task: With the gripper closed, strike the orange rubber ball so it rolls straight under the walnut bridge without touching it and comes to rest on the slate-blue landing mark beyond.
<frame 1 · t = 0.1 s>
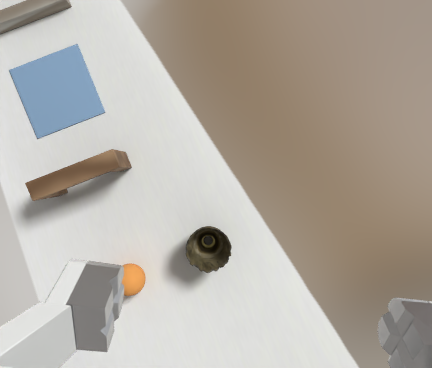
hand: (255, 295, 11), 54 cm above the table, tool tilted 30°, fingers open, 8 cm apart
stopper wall: (27, 17, 63), on the table
landing mark: (57, 91, 63), on the table
bridge: (91, 174, 64), on the table
cup: (208, 240, 65), on the table
ball: (129, 279, 62), on the table
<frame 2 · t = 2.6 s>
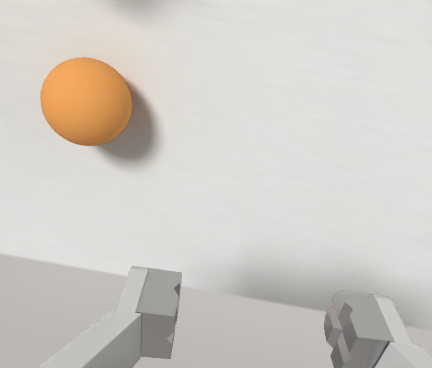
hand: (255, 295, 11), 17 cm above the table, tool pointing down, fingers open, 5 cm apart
ball: (88, 102, 23), on the table
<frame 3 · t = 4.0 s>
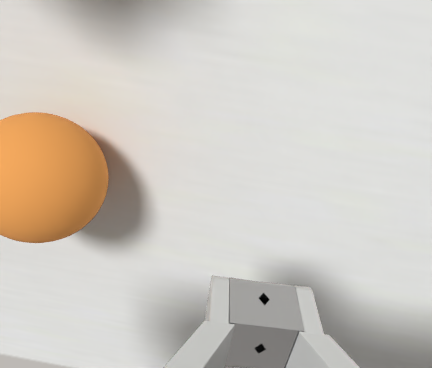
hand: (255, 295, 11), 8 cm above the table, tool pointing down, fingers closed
ball: (41, 177, 15), on the table
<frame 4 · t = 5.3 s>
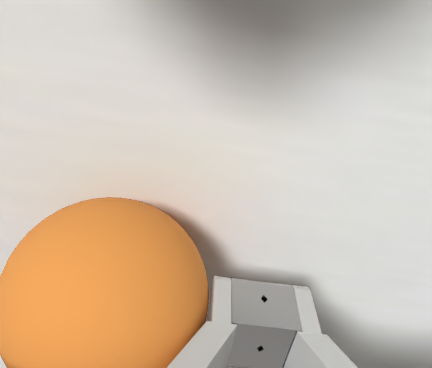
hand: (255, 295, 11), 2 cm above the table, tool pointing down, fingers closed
ball: (109, 296, 10), on the table, touching gripper
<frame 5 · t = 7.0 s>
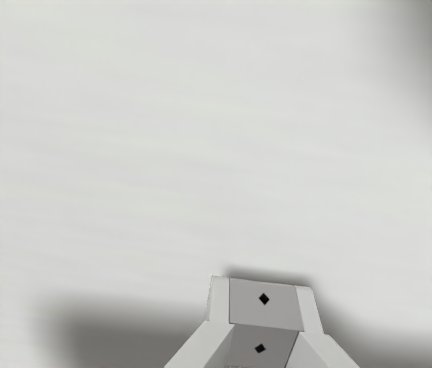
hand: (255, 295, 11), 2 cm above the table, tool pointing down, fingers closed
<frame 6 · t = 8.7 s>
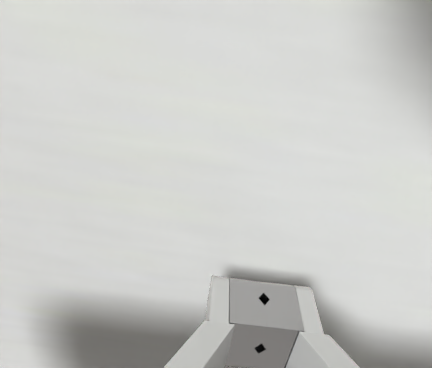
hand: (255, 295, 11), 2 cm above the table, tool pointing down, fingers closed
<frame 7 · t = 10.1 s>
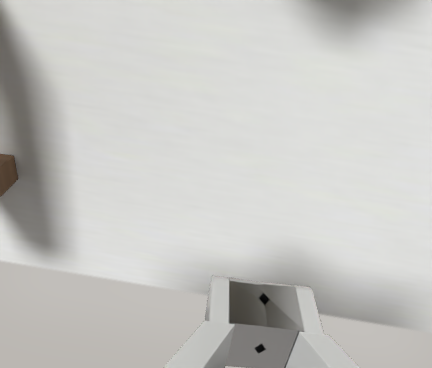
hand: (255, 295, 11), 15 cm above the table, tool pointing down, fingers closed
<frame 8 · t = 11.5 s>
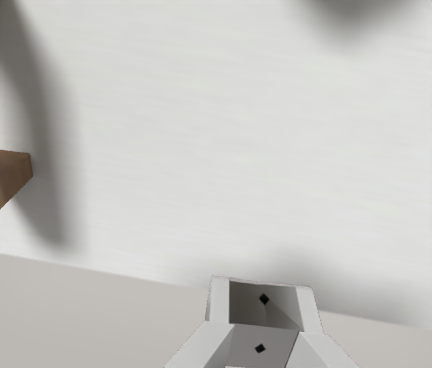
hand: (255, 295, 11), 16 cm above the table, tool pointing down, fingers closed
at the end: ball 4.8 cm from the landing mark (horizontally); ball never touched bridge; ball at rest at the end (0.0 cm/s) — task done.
